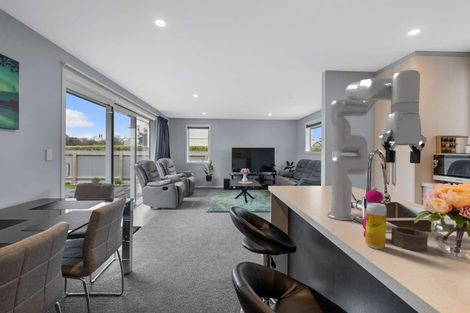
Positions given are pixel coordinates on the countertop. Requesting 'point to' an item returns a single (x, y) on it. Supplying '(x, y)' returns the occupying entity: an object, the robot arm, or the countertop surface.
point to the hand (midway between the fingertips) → (402, 162)
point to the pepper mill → (372, 201)
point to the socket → (409, 239)
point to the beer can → (376, 225)
